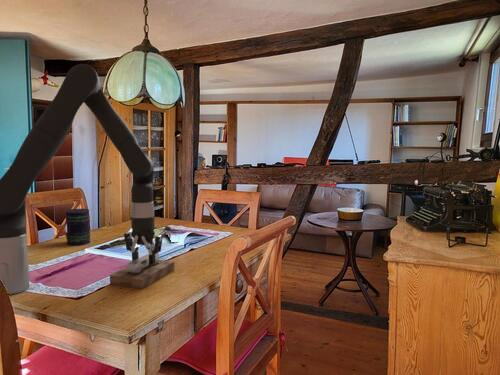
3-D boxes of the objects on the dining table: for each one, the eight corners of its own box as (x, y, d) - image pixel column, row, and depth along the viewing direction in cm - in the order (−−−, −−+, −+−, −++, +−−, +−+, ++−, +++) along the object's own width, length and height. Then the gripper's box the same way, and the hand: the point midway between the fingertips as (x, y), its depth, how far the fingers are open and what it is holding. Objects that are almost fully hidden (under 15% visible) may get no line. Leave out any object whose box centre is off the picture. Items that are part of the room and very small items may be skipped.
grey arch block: (135, 284, 126) (135, 264, 125) (127, 282, 127) (127, 263, 126) (159, 270, 139) (158, 253, 138) (151, 269, 140) (151, 252, 139)
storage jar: (94, 243, 176) (92, 210, 174) (71, 247, 169) (70, 213, 167) (85, 239, 183) (84, 207, 181) (63, 242, 176) (61, 210, 174)
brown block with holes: (142, 289, 121) (142, 279, 121) (110, 284, 125) (109, 275, 125) (174, 269, 140) (174, 261, 140) (145, 266, 144) (145, 258, 144)
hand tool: (179, 243, 179) (179, 233, 178) (170, 243, 177) (170, 233, 177) (171, 234, 196) (171, 225, 196) (163, 234, 195) (163, 225, 194)
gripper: (117, 215, 129) (118, 264, 131) (155, 218, 124) (156, 269, 126) (131, 211, 136) (132, 258, 138) (167, 214, 132) (168, 263, 133)
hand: (143, 263), depth 132 cm, fingers open, 5 cm apart
